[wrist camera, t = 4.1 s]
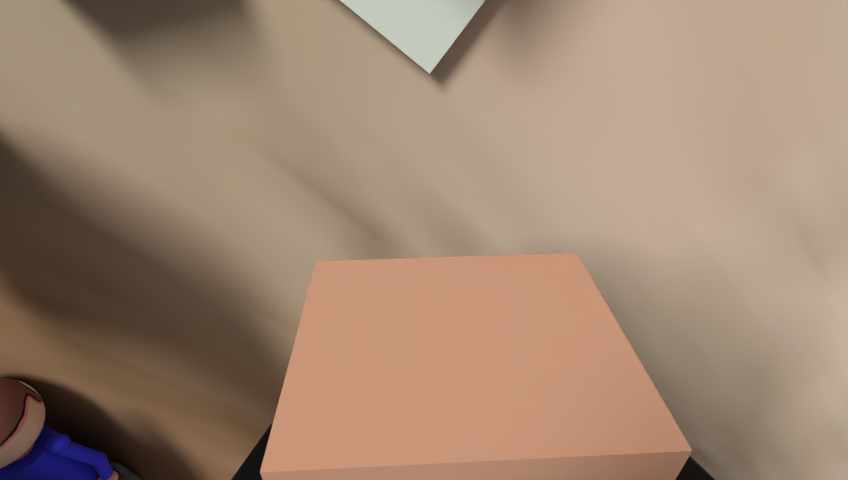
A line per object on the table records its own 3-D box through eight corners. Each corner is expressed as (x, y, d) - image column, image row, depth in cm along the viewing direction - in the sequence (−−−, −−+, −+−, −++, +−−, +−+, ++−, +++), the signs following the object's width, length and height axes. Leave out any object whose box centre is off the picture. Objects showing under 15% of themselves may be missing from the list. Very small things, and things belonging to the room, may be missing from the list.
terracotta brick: (540, 411, 11) (599, 606, 8) (344, 420, 11) (320, 624, 8) (577, 252, 8) (692, 451, 5) (316, 261, 8) (260, 472, 5)
